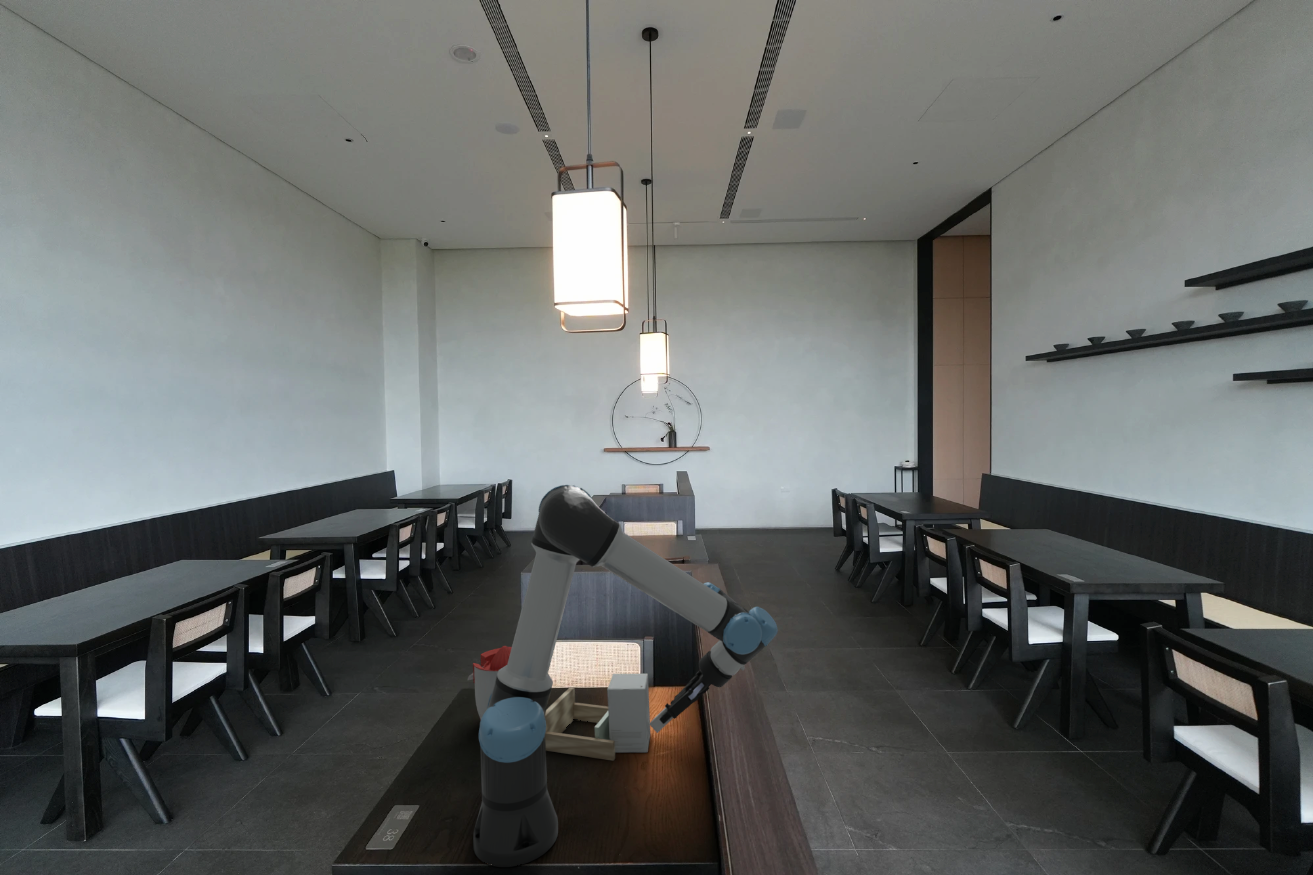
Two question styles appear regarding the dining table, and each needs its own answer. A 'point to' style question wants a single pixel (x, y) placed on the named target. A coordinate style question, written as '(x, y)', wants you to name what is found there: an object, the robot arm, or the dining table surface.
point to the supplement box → (629, 712)
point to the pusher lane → (556, 741)
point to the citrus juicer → (488, 675)
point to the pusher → (603, 728)
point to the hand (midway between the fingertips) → (654, 727)
